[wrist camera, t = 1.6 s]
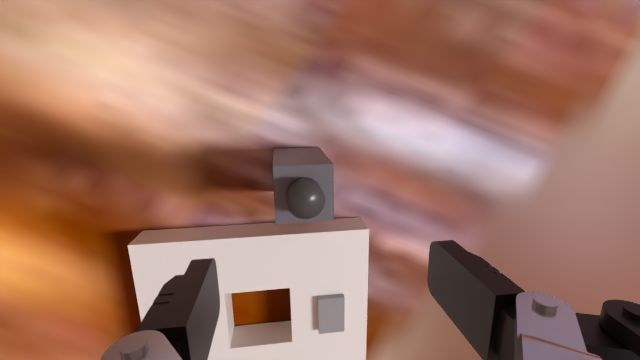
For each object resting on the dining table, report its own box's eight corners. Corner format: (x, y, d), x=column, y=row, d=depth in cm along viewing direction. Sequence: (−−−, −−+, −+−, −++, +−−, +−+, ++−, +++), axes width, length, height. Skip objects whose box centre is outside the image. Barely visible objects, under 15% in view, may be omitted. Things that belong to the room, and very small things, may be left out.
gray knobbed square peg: (275, 191, 29) (275, 233, 20) (273, 148, 28) (272, 171, 19) (319, 189, 30) (337, 228, 21) (318, 146, 29) (337, 168, 20)
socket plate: (166, 376, 33) (153, 409, 29) (142, 230, 29) (124, 248, 25) (358, 354, 35) (367, 382, 32) (360, 217, 31) (370, 231, 28)
